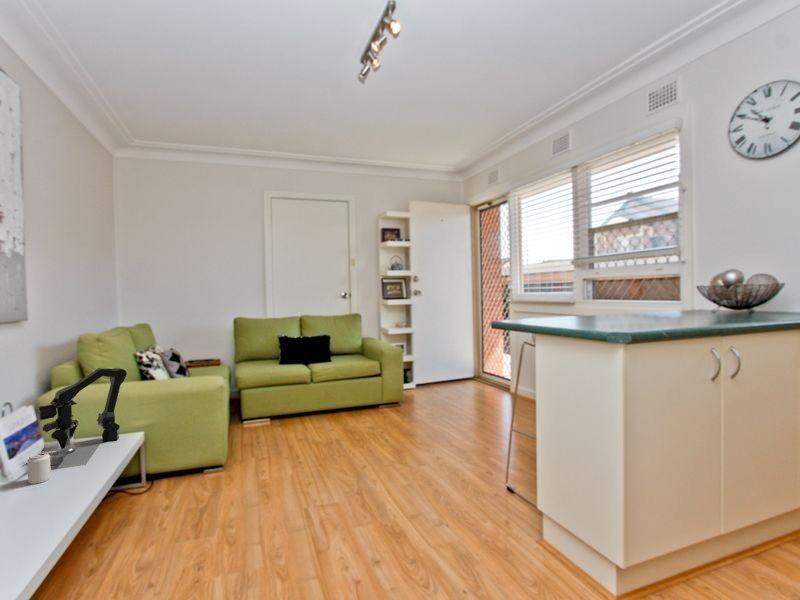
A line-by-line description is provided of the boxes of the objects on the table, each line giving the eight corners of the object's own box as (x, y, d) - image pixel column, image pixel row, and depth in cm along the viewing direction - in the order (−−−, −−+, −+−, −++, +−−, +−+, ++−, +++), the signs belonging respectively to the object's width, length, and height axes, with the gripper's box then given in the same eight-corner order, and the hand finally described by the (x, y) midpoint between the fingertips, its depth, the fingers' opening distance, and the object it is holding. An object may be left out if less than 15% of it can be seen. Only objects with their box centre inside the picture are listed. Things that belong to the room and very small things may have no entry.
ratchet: (77, 448, 213) (76, 439, 212) (60, 468, 190) (60, 458, 190) (60, 450, 210) (59, 442, 210) (41, 471, 188) (41, 461, 187)
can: (55, 477, 183) (54, 451, 182) (39, 485, 175) (38, 458, 175) (40, 476, 184) (39, 450, 183) (23, 484, 176) (22, 457, 175)
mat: (100, 443, 220) (100, 442, 220) (85, 465, 194) (85, 464, 194) (58, 449, 212) (58, 448, 212) (37, 472, 187) (37, 471, 187)
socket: (73, 445, 211) (73, 436, 211) (70, 449, 207) (70, 439, 206) (61, 447, 209) (61, 437, 209) (58, 451, 205) (57, 441, 204)
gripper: (51, 411, 212) (52, 441, 213) (37, 423, 195) (38, 455, 196) (78, 408, 217) (79, 437, 218) (66, 419, 200) (67, 451, 201)
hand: (66, 445), depth 208 cm, fingers open, 9 cm apart
